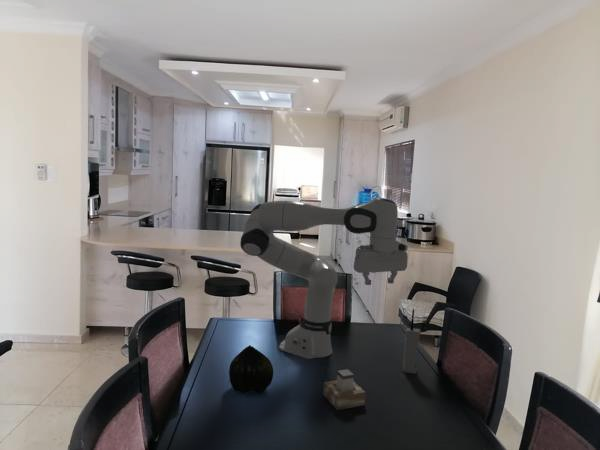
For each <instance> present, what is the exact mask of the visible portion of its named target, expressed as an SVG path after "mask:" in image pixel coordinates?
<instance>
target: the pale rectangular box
mask: <svg viewBox="0 0 600 450" xmlns="http://www.w3.org/2000/svg"><path fill="white" fill-rule="evenodd" d="M354 377H355V374H354V373H353V372H351V370H349V369H348V368H346V369H342V370H341V369H339V370H337V373H336V380H337V384H336V388H337V389H338V390H339V391H340V392H341V393H343V392H348V391H353V381H354V382H355V380H354V379H355V378H354Z"/></svg>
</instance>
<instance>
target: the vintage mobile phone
mask: <svg viewBox="0 0 600 450" xmlns="http://www.w3.org/2000/svg"><path fill="white" fill-rule="evenodd" d="M411 312H412V314H411V315H412V316H411V322H410V327H406V329H405V339H404V351H403V363H402V371H403V373H406V374H407V373H408V374H414V375H416V374H417V371H418V370H417V366H416V353H417V347H418V345H419V341H420V337H421V336H420V335H421V329H420V328H414V315H415V308H412V311H411Z"/></svg>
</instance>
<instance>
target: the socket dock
mask: <svg viewBox="0 0 600 450" xmlns="http://www.w3.org/2000/svg"><path fill="white" fill-rule="evenodd" d="M336 384H337V379H336V380H330V381H324V382H323V396H324V397H325V398H326V399H327V401H328V402H329V403H330V404H331V405H332V406H333V407H334V408H335V410H336V411H341V410H345V409H351V408H355V407H361V406H365V404H366V401H365V400H366V391H365V390H364V389H363V388H362V387H361V386H359V384H357V383H356V382H355V380H354V381H353V391H348V392H343V393H341V392H340V391H339V390H338V389H337V388H336Z"/></svg>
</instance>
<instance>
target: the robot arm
mask: <svg viewBox="0 0 600 450" xmlns="http://www.w3.org/2000/svg"><path fill="white" fill-rule="evenodd" d="M398 216H399V213H398V205H397V204H396V202H395V201H394V200H392V199H389V198H385V197H381V196H380V197H375V198H373V199H372V200H370V201H367V202H365V203H359V204H358V203H357V204H356V205H353V206H351V207H346V208H345V207H323V206H318V205H313V204H310V203H304V202H301V201H295V200H294V201H293V200H273V201H272V200H271V201H266V202H263V203H258V204H256V205H255V206H254V207H253V208H252V209H251V211H250V214H249V216H248V217H247V219H246V222H245V224H244V229H243V233H242V235H241V237H240V248H241V250H242V251H243V252H244V253H245V254H247V255H249V256H252V257H257V258H259V259H260V260H262V261H263V262H266V263H267V264H269V265H271V266H273V267H275V268H277V269H279V270H281V271H283V272H285V273H287V274H289V275H294V276H296V277H300V278H303V279H305V280H307V281H308V289H307V294H306V297H305V302H304V303H305V304H304V313H303V314H302V315H301V317H300V318H298V319H299V320H298V323H299V324H298V325H297V326H295V327H293V328H292V329H290V330H289V331H288V332H287V334H286V336H285V339H284V340H282V341H281V342H280V344H279V347H278V348H279V350H280V351H283V352H285V353H289V354H292V355H294V356H297V357H301V358H304V359H307V360H311V359H317V358H319V359H320V358H325V357H329V356H330V355H332V354H333V349H332V348H333V347H332V342H331V332H332V323H333V322H332V317H331V316H332V305H333V304H332V303H333V297H334V294H335V289H336V286H337V284H338V281H339V280H338V279H339V277H338V273H337V270H336V268H335V267H334V266H333V265H332V264H330V263H329V262H328V261H327V260H326V259H324V258H322V257H321V256H318V255H316V254H314V253H312V252H309V251H307V250H304V249H302V248H300V247H297V246H296V245H294V244H291V243H290V242H287V241H285V240H283V239H281V238H279V237H277V236H276V235H275V234H274V231H280V232H299V231H300V232H301V231H305V230H308V229H311V228H314V227H317V226H321V225H322V226H323V225H331V226H333V225H334V226H336V225H337V226H344V227H345V228H346V230H347V231H349V233H352V234H356V235H361V234H366V233H369V245H368V244H365V245H363V244H362V245H360V246H358V247H357V248H356V249H355V256H354V262H353V270H354V271H355V272H356V273H359V274H362V276H363V278H364V285H366V286H371V285H372V279H370V278H369V276H370V273H383V272H385V273H386V272H387V273H388V272H390V275H389V277H387V281H386V282H387V283H388V284H394V282H395V279H396V277H397V275H398V272H404V271H406V270H407V268H408V260H409V259H408V258H409V257H408V253H407V251H408V248H409V247H408V245H407V244H405V243H402V242H400V241H398V240H397V234H396V229H397V226H398Z"/></svg>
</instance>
